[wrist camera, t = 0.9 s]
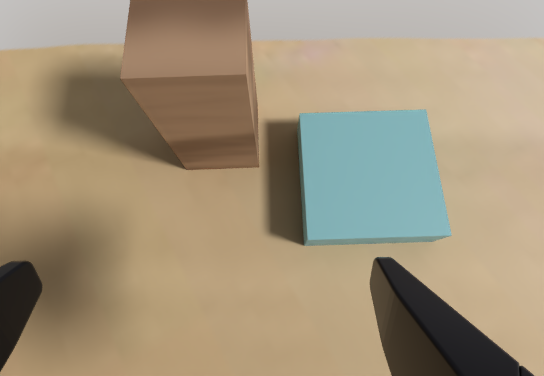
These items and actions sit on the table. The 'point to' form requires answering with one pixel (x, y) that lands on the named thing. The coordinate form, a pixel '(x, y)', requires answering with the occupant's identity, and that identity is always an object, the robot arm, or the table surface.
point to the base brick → (369, 178)
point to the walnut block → (195, 78)
